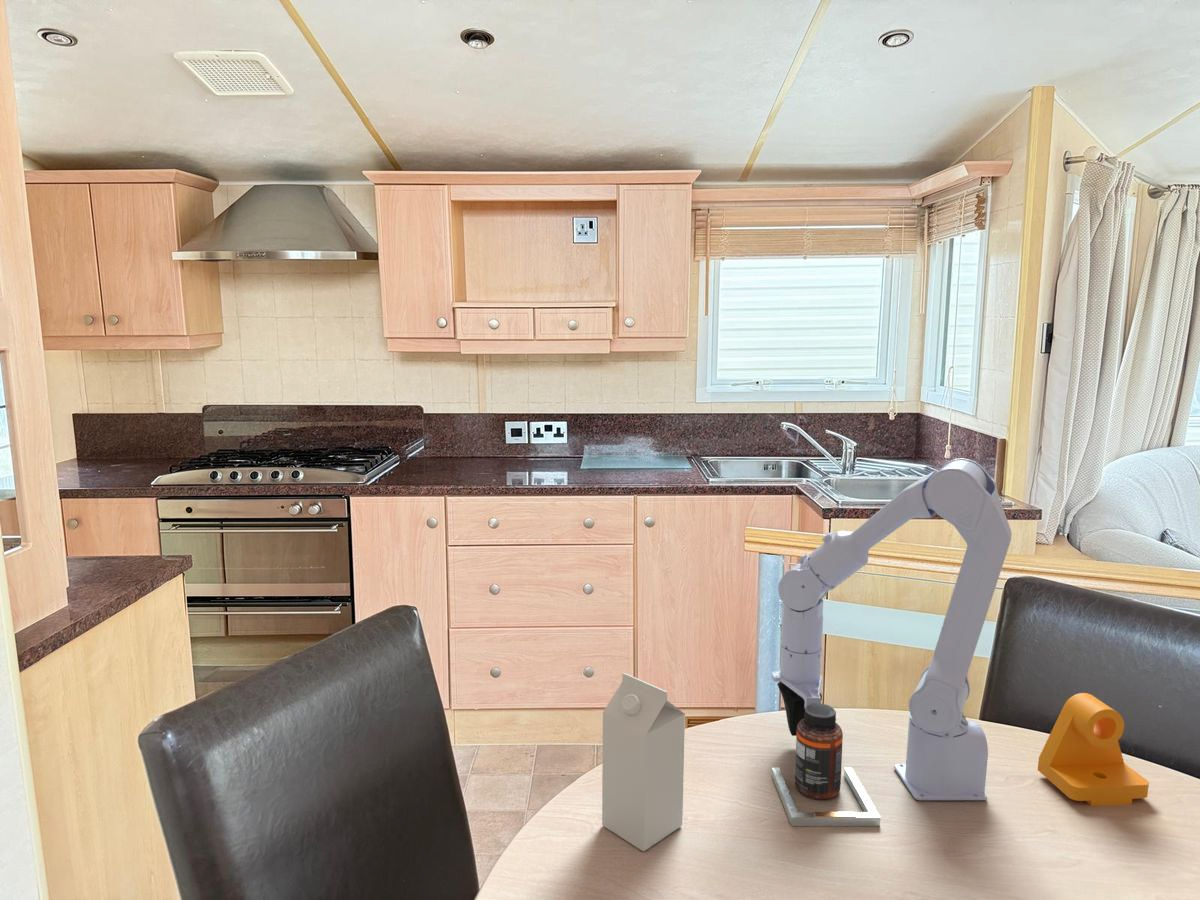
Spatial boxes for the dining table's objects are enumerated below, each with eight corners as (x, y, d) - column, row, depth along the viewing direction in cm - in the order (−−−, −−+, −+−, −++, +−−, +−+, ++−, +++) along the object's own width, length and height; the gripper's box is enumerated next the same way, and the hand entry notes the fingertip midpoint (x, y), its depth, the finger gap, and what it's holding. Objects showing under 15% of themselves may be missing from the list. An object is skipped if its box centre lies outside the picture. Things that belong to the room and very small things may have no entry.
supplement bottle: (835, 777, 108) (840, 700, 106) (844, 803, 102) (849, 722, 100) (791, 774, 108) (794, 697, 107) (797, 800, 103) (801, 719, 101)
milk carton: (640, 802, 102) (642, 664, 99) (682, 826, 97) (686, 682, 94) (601, 826, 97) (602, 681, 94) (644, 853, 92) (646, 702, 89)
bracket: (1072, 807, 102) (1081, 720, 100) (1037, 775, 109) (1045, 694, 107) (1150, 803, 102) (1161, 717, 100) (1110, 772, 109) (1120, 691, 108)
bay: (851, 775, 108) (851, 767, 108) (879, 826, 97) (880, 816, 97) (771, 775, 108) (771, 767, 108) (791, 826, 97) (791, 816, 97)
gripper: (763, 626, 121) (760, 709, 123) (785, 667, 106) (782, 760, 109) (808, 626, 121) (805, 709, 123) (837, 667, 106) (832, 760, 109)
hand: (797, 733), depth 116 cm, fingers closed
